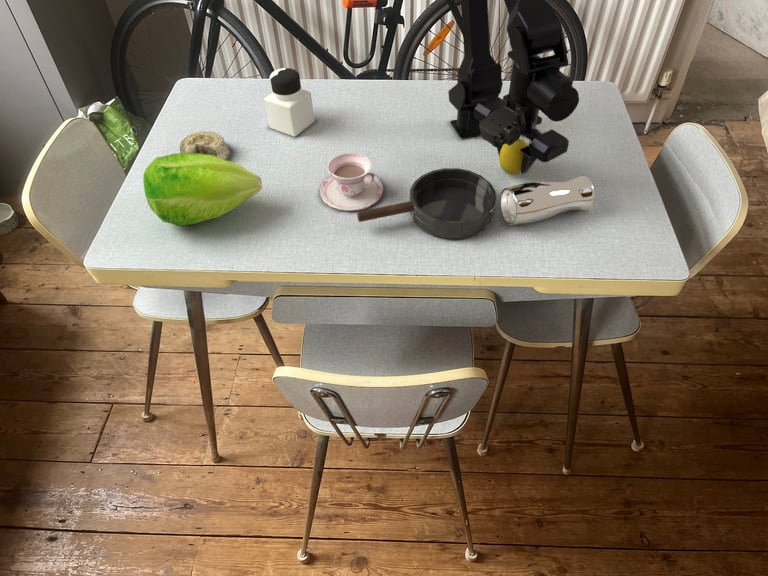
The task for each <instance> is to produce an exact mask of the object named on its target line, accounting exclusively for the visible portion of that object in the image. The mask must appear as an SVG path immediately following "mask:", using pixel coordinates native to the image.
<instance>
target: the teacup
mask: <svg viewBox="0 0 768 576" xmlns="http://www.w3.org/2000/svg"><path fill="white" fill-rule="evenodd" d="M325 168H326V170H327V172H328V173H329V175H330V176H328V177H327V178H326V179H325V180H324V181H323V182H322V184H321V186H320V188H319V189H320V190H319V191H320V192H319V193H320V197H321V199H322V201H323V202H324V203H325V204H326V205H327V206H329V207H331V208H332V209H335V210H338V211H345V212H356V211H363V210H366V209H367V208H370V207H371V206H373V205H375V204H377V202H378V201H380V199H382V196H383V194H384V185H383V182H382V181H381V180H380V178H379V177H378V176H376V174H375V173H373V172H371V171H372V168H373V164H372V161H371V160H370V159H369V158H368V157H367V156H365V155H363V154H360V153H356V152H343V153H342V152H341V153H337V154H335V155H333V156H331V157H330V158H328V159H327V161H326V164H325Z"/></svg>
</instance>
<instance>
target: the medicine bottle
mask: <svg viewBox="0 0 768 576" xmlns="http://www.w3.org/2000/svg"><path fill="white" fill-rule="evenodd" d="M300 77H301V76H300V73H299V72H298V71H297V70H296V69H293V68H290V67H283V68H282V67H281V68H278V69H275V70H274V71H272V72H271V74H270V75H269V83H270V88H271V93H270V94H268V95H267V96H266V97H264V98H263V100H264V105H265V111H266V116H267V121H268V125H269V126H268V127H269V128H270V129H272V130H275V131H278V132H280V133H283V134H286V135H288V136H291V137H293V138H294V137H297V136H298V135H299V134H300V133H302V132H303V131H304V130H306V129H307V128H308V127H310V126H311V125H312V124H313V123H314V122H315V115H314V107H313V105H314V104H313V100H312V99H313V97H312V92H311V91H309V90H305V89H303V88H302V84H301V78H300Z"/></svg>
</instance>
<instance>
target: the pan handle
mask: <svg viewBox="0 0 768 576" xmlns="http://www.w3.org/2000/svg"><path fill="white" fill-rule="evenodd" d="M413 204H414V203H413V201H410V200H408V201H403V202H399V203H393V204H390V205H384V206H379V207H374V208H370V209H363V210H358V211H357V212H356V218H357V221H358V222H359V223H361V222H362V223H363V222H366V221H371V220H375V219H382V218H386V217H387V218H388V217H391V216H396V215H401V214H405V213H410V212H411V211H413Z"/></svg>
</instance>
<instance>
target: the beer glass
mask: <svg viewBox="0 0 768 576" xmlns="http://www.w3.org/2000/svg"><path fill="white" fill-rule="evenodd" d="M594 202H595V189H594V186H593V183H592V181H591V180H590V179H589V177H588V176H585V175H580V176H576V177H573V178H572V179H568V180H564V181H531V182H525V183H520V184H515V185H512V186H508V187H504V188H503V189H502V190H501V192H500V196H499V209H500V213H501V216H502V218H503V221H504V222H505V223H506V224H507V225H508V226H516V225H524V224H531V223H532V224H533V223H537V222H541V221H544V220H547V219H550V218H553V217H555V216H558V215H561V214H563V213H565V212H570V211H587V210H590V209H591V208H592V206H593V204H594Z"/></svg>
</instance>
